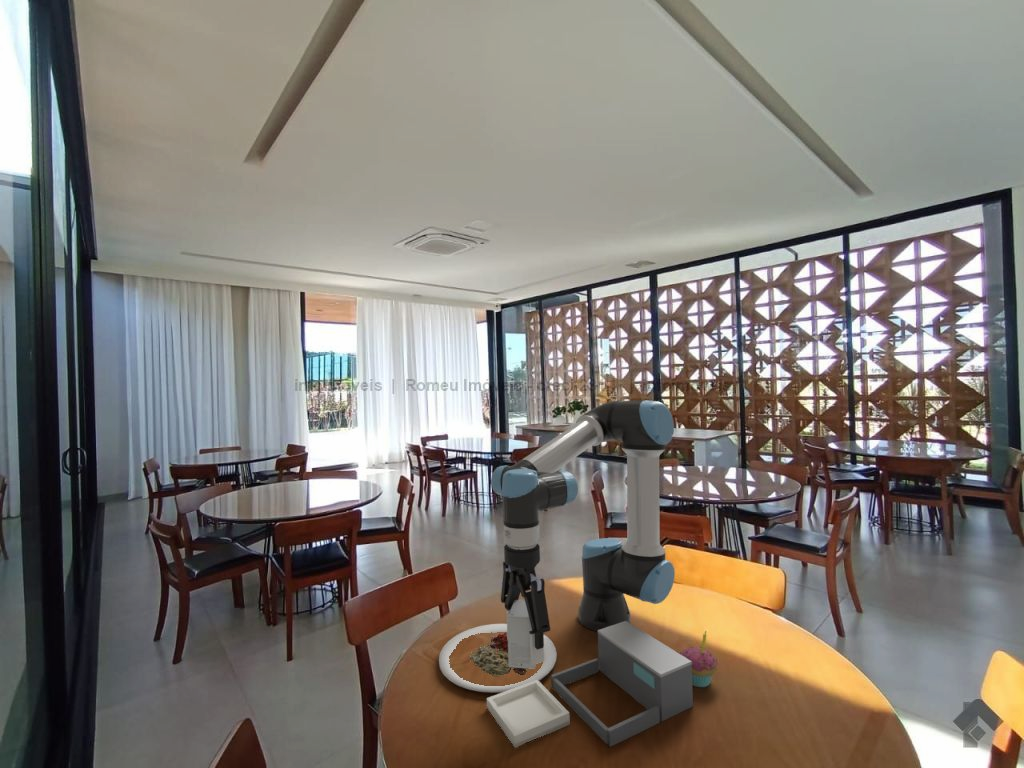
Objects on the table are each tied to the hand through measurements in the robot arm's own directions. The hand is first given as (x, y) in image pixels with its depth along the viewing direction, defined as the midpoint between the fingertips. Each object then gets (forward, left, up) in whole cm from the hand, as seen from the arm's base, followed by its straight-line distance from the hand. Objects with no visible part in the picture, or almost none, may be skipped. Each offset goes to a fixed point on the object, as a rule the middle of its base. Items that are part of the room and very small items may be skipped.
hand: (524, 650), depth 99 cm
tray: (0, 0, -14) cm, 14 cm away
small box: (0, 0, -2) cm, 2 cm away
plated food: (-22, +4, -14) cm, 27 cm away
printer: (+5, +21, -14) cm, 26 cm away
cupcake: (+10, +40, -14) cm, 44 cm away
